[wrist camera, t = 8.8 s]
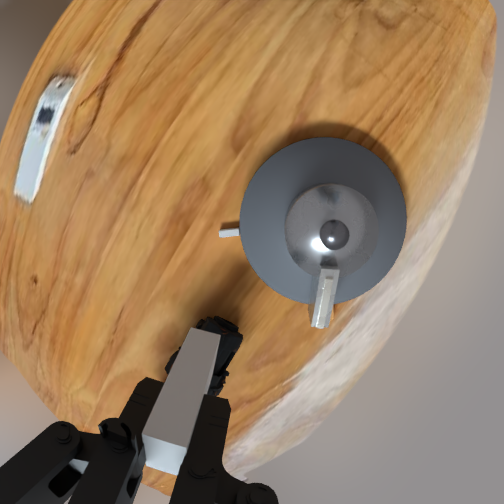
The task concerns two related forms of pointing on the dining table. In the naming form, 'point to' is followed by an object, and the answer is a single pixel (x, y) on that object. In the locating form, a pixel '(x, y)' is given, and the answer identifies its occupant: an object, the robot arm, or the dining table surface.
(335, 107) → the dining table surface
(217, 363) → the tool
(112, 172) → the dining table surface
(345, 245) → the dial
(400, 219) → the dial plate
